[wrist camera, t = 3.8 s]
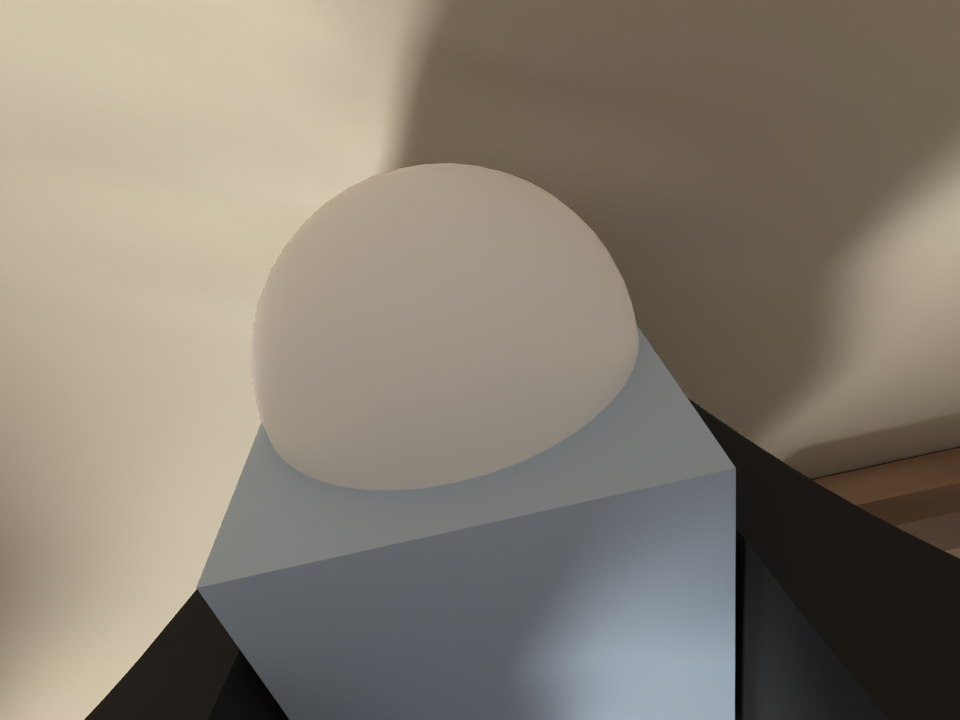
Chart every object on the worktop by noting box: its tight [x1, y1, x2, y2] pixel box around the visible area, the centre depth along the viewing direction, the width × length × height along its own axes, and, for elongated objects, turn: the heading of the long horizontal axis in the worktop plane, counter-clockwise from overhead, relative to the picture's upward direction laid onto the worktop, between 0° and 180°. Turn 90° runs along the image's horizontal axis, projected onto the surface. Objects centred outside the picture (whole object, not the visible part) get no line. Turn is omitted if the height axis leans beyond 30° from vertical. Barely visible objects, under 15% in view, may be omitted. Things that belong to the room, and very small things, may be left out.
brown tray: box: [813, 448, 960, 558], centre depth 14 cm, size 13×10×3 cm
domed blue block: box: [197, 163, 736, 720], centre depth 8 cm, size 9×4×5 cm, turn 12°
